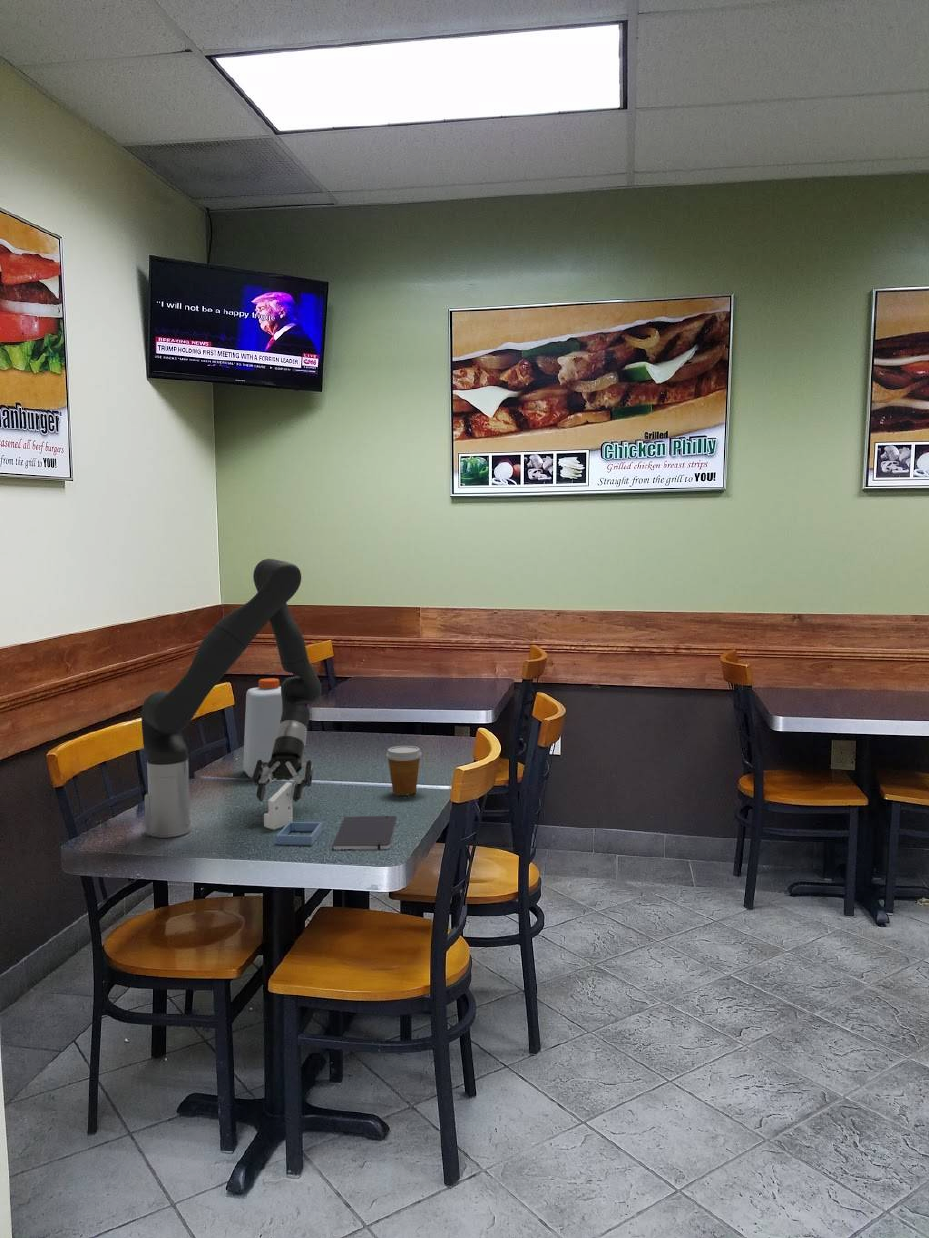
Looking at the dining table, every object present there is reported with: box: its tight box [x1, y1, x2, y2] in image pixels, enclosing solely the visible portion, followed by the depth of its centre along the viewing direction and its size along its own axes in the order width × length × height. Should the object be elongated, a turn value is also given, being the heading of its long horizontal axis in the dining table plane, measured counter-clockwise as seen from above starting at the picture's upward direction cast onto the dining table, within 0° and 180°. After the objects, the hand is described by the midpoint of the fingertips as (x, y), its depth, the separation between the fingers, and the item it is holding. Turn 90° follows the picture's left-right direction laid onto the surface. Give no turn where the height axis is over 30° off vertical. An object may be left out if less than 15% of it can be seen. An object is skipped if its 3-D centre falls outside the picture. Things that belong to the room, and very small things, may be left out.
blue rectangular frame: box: [275, 821, 324, 846], centre depth 206 cm, size 8×10×2 cm
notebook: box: [331, 815, 397, 851], centre depth 208 cm, size 13×2×21 cm
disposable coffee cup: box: [386, 745, 422, 796], centre depth 243 cm, size 10×10×12 cm
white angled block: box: [263, 781, 294, 830], centre depth 216 cm, size 4×10×9 cm, turn 141°
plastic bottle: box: [242, 677, 282, 779], centre depth 265 cm, size 15×15×28 cm
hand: (277, 800), depth 215 cm, fingers open, 8 cm apart
